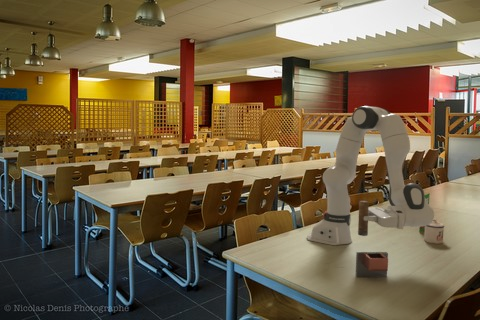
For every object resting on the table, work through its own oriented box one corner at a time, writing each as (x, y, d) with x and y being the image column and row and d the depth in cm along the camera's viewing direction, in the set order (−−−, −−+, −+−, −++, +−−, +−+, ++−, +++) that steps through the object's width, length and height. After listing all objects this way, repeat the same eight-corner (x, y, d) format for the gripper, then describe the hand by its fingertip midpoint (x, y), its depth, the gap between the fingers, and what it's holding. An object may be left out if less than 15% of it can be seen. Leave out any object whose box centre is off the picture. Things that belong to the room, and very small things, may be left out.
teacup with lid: (439, 245, 194) (441, 222, 193) (420, 241, 201) (422, 218, 200) (447, 240, 203) (449, 218, 202) (429, 236, 209) (430, 215, 208)
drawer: (385, 275, 156) (386, 252, 155) (393, 283, 148) (394, 258, 147) (355, 275, 155) (356, 252, 155) (362, 283, 148) (363, 259, 147)
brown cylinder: (357, 235, 164) (358, 202, 163) (358, 232, 168) (359, 200, 166) (366, 236, 163) (368, 203, 161) (368, 233, 166) (369, 201, 165)
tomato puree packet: (426, 226, 228) (428, 193, 226) (428, 227, 227) (430, 193, 225) (418, 232, 217) (420, 196, 215) (420, 232, 216) (422, 197, 214)
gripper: (384, 203, 175) (353, 203, 174) (405, 214, 155) (370, 214, 154) (383, 217, 176) (353, 217, 175) (404, 230, 155) (369, 230, 155)
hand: (361, 216), depth 164 cm, fingers closed on brown cylinder, 4 cm apart
